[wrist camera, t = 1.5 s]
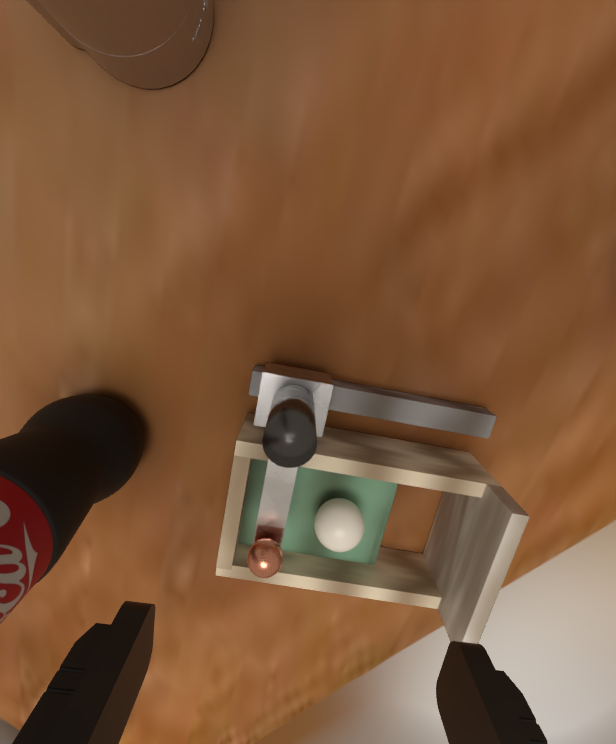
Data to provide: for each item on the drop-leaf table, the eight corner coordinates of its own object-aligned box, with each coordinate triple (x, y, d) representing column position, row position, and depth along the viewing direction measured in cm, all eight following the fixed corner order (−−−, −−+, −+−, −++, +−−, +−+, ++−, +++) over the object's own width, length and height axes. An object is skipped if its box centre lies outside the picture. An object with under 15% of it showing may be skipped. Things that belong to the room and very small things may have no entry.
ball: (309, 524, 32) (310, 559, 28) (318, 484, 31) (321, 514, 27) (354, 532, 32) (361, 567, 28) (365, 492, 31) (374, 523, 27)
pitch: (228, 533, 35) (202, 619, 26) (255, 364, 31) (236, 400, 22) (431, 565, 36) (471, 658, 27) (484, 407, 32) (553, 458, 23)
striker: (241, 507, 31) (217, 596, 23) (266, 361, 28) (250, 401, 19) (299, 516, 32) (297, 608, 23) (330, 374, 28) (342, 417, 20)
